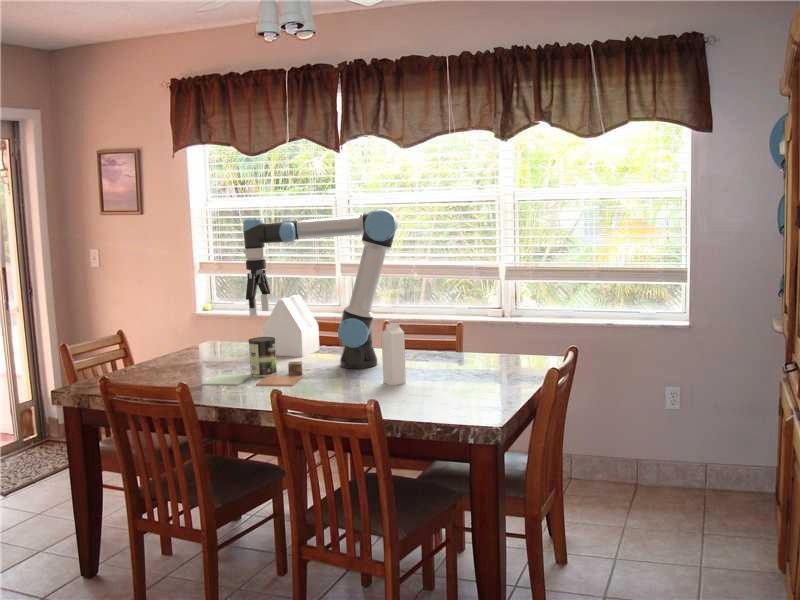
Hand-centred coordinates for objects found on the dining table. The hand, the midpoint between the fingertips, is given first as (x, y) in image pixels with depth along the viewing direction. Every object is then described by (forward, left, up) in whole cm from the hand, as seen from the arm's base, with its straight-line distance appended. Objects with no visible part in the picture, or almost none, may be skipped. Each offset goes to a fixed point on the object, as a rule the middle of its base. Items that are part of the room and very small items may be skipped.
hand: (259, 313), depth 304 cm
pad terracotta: (-11, +11, -24) cm, 29 cm away
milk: (-55, +12, -24) cm, 61 cm away
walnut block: (-14, +1, -24) cm, 28 cm away
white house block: (+1, -43, -25) cm, 49 cm away
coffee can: (0, 0, -24) cm, 24 cm away
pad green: (+10, +11, -24) cm, 29 cm away
